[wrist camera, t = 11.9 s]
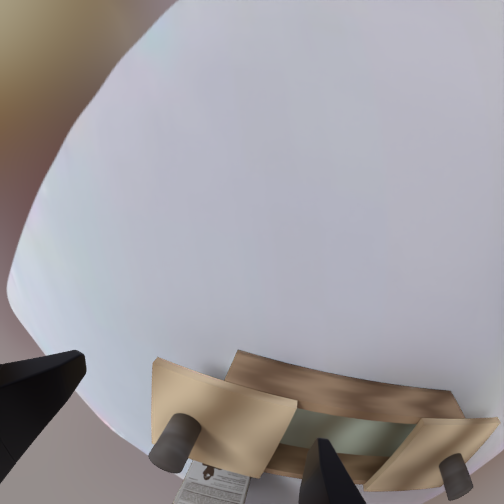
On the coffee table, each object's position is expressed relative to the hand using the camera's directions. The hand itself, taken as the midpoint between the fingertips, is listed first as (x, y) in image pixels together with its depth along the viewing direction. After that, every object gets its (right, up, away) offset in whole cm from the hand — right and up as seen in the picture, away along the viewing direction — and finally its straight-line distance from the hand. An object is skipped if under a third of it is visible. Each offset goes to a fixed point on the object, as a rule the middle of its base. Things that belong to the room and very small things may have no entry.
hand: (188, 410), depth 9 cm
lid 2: (+18, -13, +8) cm, 24 cm away
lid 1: (-1, -8, +10) cm, 13 cm away
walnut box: (+10, -9, +13) cm, 19 cm away
